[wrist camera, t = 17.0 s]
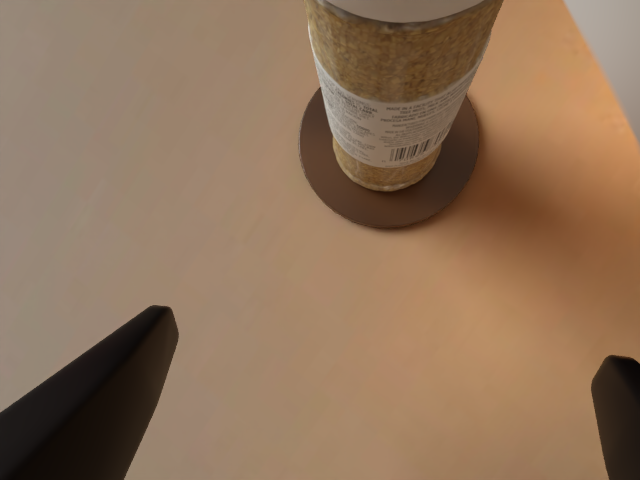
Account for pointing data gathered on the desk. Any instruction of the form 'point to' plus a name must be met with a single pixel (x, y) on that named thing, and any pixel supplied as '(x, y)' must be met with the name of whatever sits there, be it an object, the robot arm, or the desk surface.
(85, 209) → the desk surface
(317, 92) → the coaster
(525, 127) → the desk surface
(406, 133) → the spice jar
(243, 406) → the desk surface
